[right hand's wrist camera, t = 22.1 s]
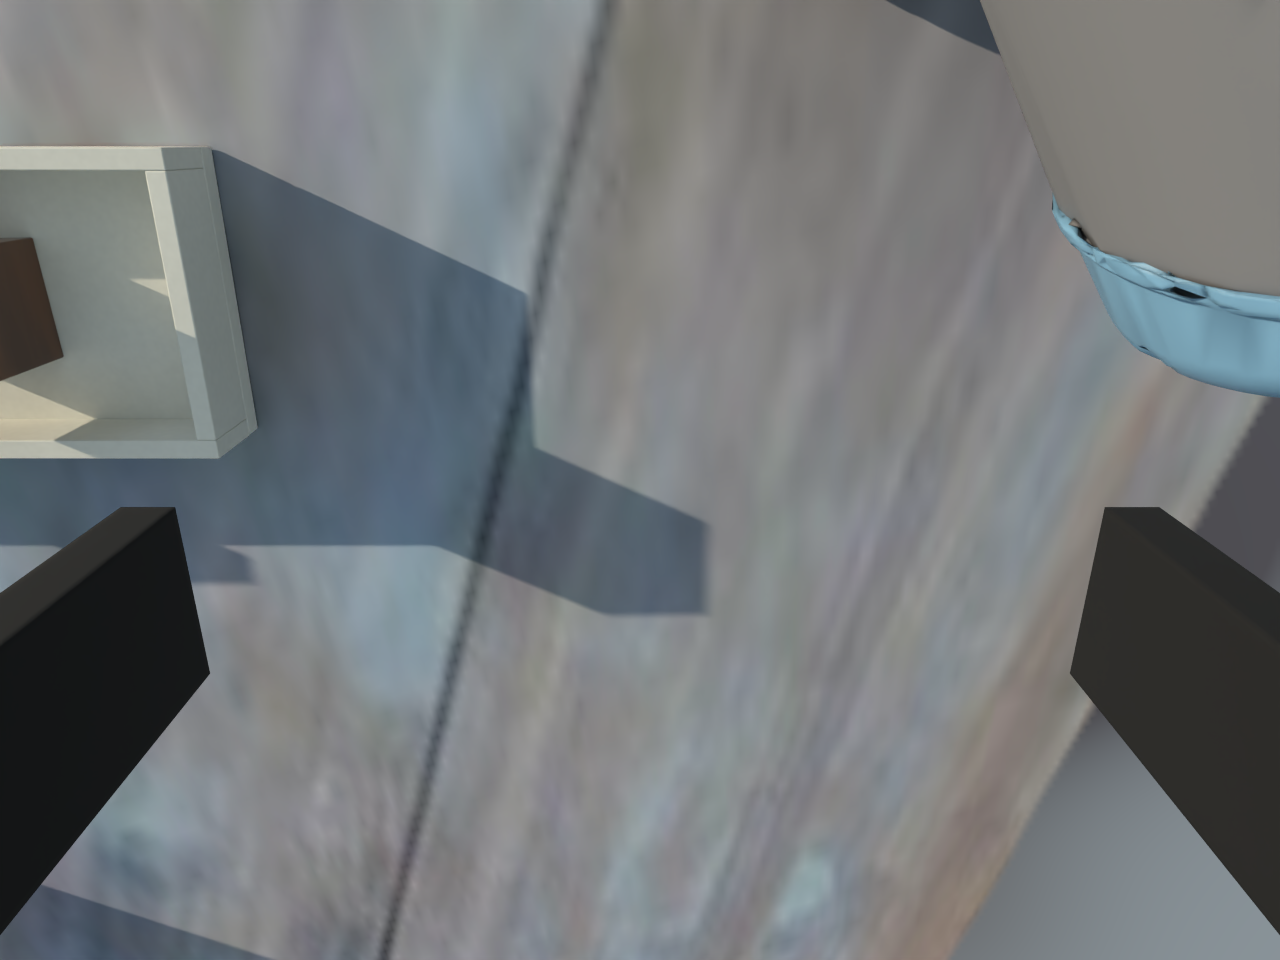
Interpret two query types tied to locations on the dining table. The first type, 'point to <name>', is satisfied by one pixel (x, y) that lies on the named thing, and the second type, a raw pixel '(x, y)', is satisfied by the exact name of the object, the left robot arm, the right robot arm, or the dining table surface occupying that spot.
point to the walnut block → (24, 311)
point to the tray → (126, 306)
